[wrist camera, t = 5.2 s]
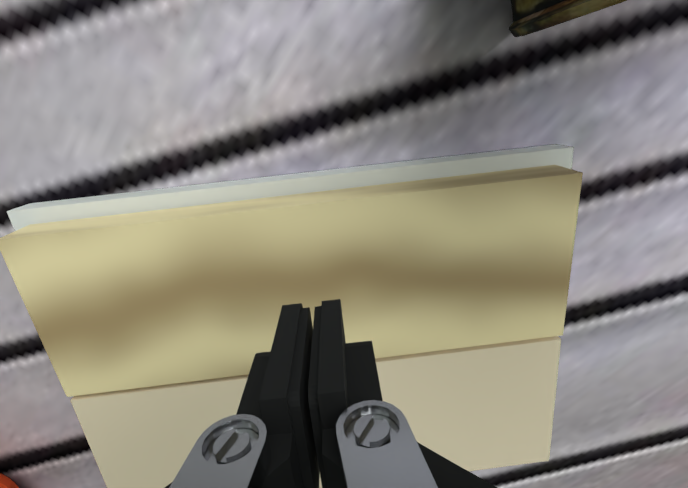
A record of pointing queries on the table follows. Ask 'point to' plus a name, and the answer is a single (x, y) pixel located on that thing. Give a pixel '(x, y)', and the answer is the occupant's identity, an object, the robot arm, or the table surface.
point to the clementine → (6, 482)
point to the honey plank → (298, 275)
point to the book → (550, 13)
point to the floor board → (393, 372)
